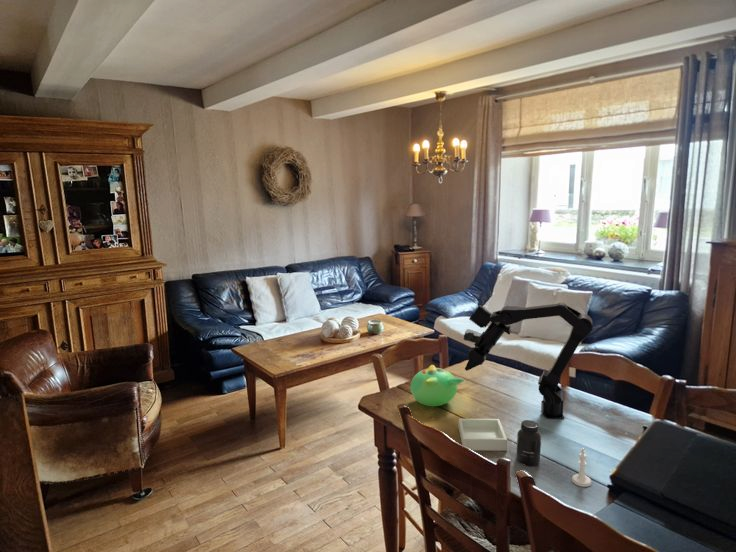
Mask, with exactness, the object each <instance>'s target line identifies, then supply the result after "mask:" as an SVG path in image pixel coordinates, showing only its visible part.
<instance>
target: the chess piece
mask: <svg viewBox="0 0 736 552" xmlns="http://www.w3.org/2000/svg"><path fill="white" fill-rule="evenodd" d="M580 451H581V452H580V453H578V457H579V460H578V464H579V465H580V466H579V470H578V473H576V474H573V475H572V477H571V481H572V482H573V483H574V484H575V485H577V486H578V487H579V486H580V487H583V488H585V487H586V488H587V487H590V486H591V485H592V479H591V478H590V477H589V476H587V475H586V471H585V466H587V462H586V459H587V457H588V455H587V454H586V450H585V448H584V447H581V448H580Z"/></svg>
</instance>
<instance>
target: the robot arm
mask: <svg viewBox="0 0 736 552" xmlns="http://www.w3.org/2000/svg"><path fill="white" fill-rule="evenodd" d="M549 317H561V318H562V319H563V321H565V322H566V323H567V324H569V325H570V326H571V330H570V332H569V335H568V337H567V339H566V341H565V342H564V345H563V346H562V348H561V350H560V352H559V354H558V355H557V357H556V359H555V361H554V362H553V364H552V366H551V367H550V369H548V370H547V369H545V368H544V369H543V372H542V374H541V375H540V376H539V379H538V382H537V385H538V392H539V394H540V395H541V396H542V400H541V404H540V405H541V408H540V412H541V413H542V414H543V415H544V418H545V419H565V415H564V399H563V388H561V386H560V385H559V383H560V380H561V376H562V374H563V373H564V371H565V369H566V368H567V366H568V365H569V362H570V360H571V358H573V355H574V353H575V352H576V350H577V348H578V346H579V345H580V343H582V342H583V341H584V340H585V339H586V338H587V336H588V335H589V334H590V333H591V332H592V331H593V319H592V318H591V316H589V314H586V313H581V312H579V311H578V310H576V309H574V308H572V306H571V307H570V306H569V305H567V304H566V303H565V302H558V303H552V304H543V305H537V306H527V307H522V306H521V307H520V306H514V305H506V306H503V307H502V308H501V309H500V310H496V311H492V312H490V311H489V310H487V309H486V308H485V307H484V306H483V305H482V304H480V305H479V306H478V307H477V308H476V309H475V311H473V312H472V314H471V316H469V320H470V321H471V322H472V323H474V324H475V325H476V326H478V327H479V328H483V329H484V328H486V327H487V326H488V327H487V328H486V329H485V331H483V332H482V333H481V332H478V331H476V330H473V329H469V328H468V329H466V330H465V331H464V335H463V340H464V341H468V342H471V343H474V344H473V346H474V347H471V348H470V349H469V351H468V353H467V356H468V361H467V362H466V365H465V368H464V371H466V372H468V371H470V370H472V369H474V368H476V367H478V366H482V365H483V363H484V362H485V361H486V359H487V355H488V354H489V353H490V352H491V350H492V349H493V348H494V346H496V344H497V342H498V341H499V340H500V339H501V338H502V336H503V335H504V334H507V335H511V332H512V329H511V325H514V324H517V323H519V322H521V321H525V320H533V319H541V318H549ZM489 323H490V324H489Z"/></svg>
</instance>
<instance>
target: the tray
mask: <svg viewBox="0 0 736 552" xmlns="http://www.w3.org/2000/svg"><path fill="white" fill-rule="evenodd" d="M502 425H503V424H502V423H501V421H500V418H458V431H459V436H460V440H461V441H460V442H461V445H463V446H466V447H468V448H470V449H472V450H471V451H491V452H492V451H493V452H494V451H499V452H501V451H503V452H504V451H505V452H506V451H508V438H507V434H506V432H505V430H504V428H503V426H502ZM463 446H462V447H463Z"/></svg>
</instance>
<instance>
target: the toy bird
mask: <svg viewBox="0 0 736 552" xmlns="http://www.w3.org/2000/svg"><path fill="white" fill-rule="evenodd" d="M463 382H465V379H464V378H461V377H455V376H454V375H453V374H452V373H451V372H450V371H448V370H446V369H443V368H440V367H436V366H435V365H434V364H431V365H429V366H428V367H427V368H424V369H422V370H420V371H418V372H417V373H416V374H415V375H414V376H413V377H412V380H411V381H410V391H411V394H412V397H413V398H414V399H415V400H416V401H417V402H418V403H420V404H421V405H424V406H427V407H441V406H444V405H446V404H448V403H450V402H451V401H452V400H453V399H454V398H455V395H456V394H457V390H458V385H460V384H462V383H463Z"/></svg>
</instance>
